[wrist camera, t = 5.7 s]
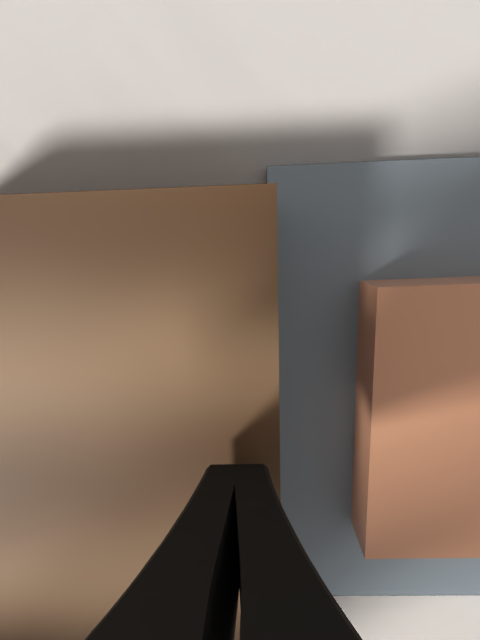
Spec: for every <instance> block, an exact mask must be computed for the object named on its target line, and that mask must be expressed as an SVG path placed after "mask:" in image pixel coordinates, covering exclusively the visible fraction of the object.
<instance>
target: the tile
mask: <svg viewBox="0 0 480 640" xmlns="http://www.w3.org/2000/svg"><path fill="white" fill-rule="evenodd" d="M351 522H352V525H353V528H354V530H355V533H356V536H357V539H358V541H359V544H360V547H361V550H362V553H363V555H364V558H365V559H423V558H480V276H464V277H438V278H412V279H386V280H360V283H359V311H358V340H357V368H356V396H355V425H354V453H353V481H352V510H351Z"/></svg>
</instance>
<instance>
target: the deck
mask: <svg viewBox="0 0 480 640" xmlns="http://www.w3.org/2000/svg"><path fill="white" fill-rule="evenodd" d="M213 464H264V465H265V466H266V467H267V468H268V469H269V474H270V477H271V480H272V483H273V486H274V488H275V491H276V494H277V496H278V498H279V500H280V503H281V498H280V407H279V316H278V225H277V183H266V184H242V185H218V186H194V187H170V188H146V189H122V190H99V191H75V192H51V193H27V194H3V195H0V640H85V638H86V637H87V636H88V635H89V634H90V633H91V631H92V630H93V629H94V628H95V627H96V626H97V624H98V623H99V622H100V621H101V620H102V619H103V617H104V616H105V615H106V614H107V613H108V612H109V610H110V609H111V608H112V607H113V605H114V604H115V603H116V602H117V601H118V599H119V598H120V597H121V596H122V594H123V593H124V592H125V591H126V589H127V588H128V587H129V586H130V584H131V583H132V582H133V580H134V579H135V578H136V577H137V575H138V574H139V572H140V571H141V570H142V568H143V567H144V566H145V564H146V563H147V562H148V560H149V559H150V558H151V556H152V555H153V553H154V552H155V551H156V549H157V548H158V547H159V545H160V544H161V543H162V541H163V540H164V538H165V537H166V535H167V534H168V532H169V531H170V529H171V528H172V526H173V525H174V523H175V522H176V520H177V519H178V517H179V515H180V514H181V512H182V511H183V509H184V508H185V506H186V504H187V503H188V501H189V500H190V498H191V496H192V495H193V493H194V491H195V489H196V488H197V486H198V484H199V482H200V480H201V478H202V477H203V475H204V473H205V471H206V469H207V468H208V467H209V466H210V465H213ZM240 614H241V607H240V590H239V598H238V608H237V618H236V628H235V637H234V640H240Z"/></svg>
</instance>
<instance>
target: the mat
mask: <svg viewBox="0 0 480 640" xmlns="http://www.w3.org/2000/svg"><path fill="white" fill-rule="evenodd" d="M267 183H277V225H278V316H279V407H280V498H281V505H282V507H283V509H284V511H285V513H286V516H287V518H288V520H289V521H290V523H291V525H292V527H293V529H294V531H295V533H296V535H297V537H298V539H299V540H300V542H301V544H302V546H303V548H304V550H305V551H306V553H307V555H308V557H309V558H310V560H311V562H312V563H313V565H314V567H315V568H316V570H317V572H318V573H319V575H320V577H321V578H322V580H323V582H324V583H325V585H326V586H327V588H328V589H329V591H330V593H331V594H332V596H423V595H480V558H423V559H365V558H364V555H363V553H362V550H361V547H360V544H359V541H358V539H357V536H356V533H355V530H354V528H353V525H352V522H351V510H352V481H353V453H354V425H355V396H356V368H357V340H358V311H359V283H360V280H386V279H412V278H438V277H464V276H480V157H463V158H440V159H417V160H394V161H371V162H349V163H326V164H303V165H280V166H267Z"/></svg>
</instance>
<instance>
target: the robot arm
mask: <svg viewBox="0 0 480 640" xmlns="http://www.w3.org/2000/svg"><path fill="white" fill-rule="evenodd" d="M239 590H240V607H241V614H240V640H362V638H361V637H360V636H359V634H358V633H357V631H356V630H355V628H354V627H353V625H352V624H351V623H350V621H349V620H348V618H347V617H346V615H345V614H344V612H343V611H342V609H341V608H340V606H339V605H338V603H337V602H336V600H335V599H334V597H333V596H332V594H331V593H330V591H329V589H328V588H327V586H326V585H325V583H324V582H323V580H322V578H321V577H320V575H319V573H318V572H317V570H316V568H315V567H314V565H313V563H312V562H311V560H310V558H309V557H308V555H307V553H306V551H305V550H304V548H303V546H302V544H301V542H300V540H299V539H298V537H297V535H296V533H295V531H294V529H293V527H292V525H291V523H290V521H289V520H288V518H287V516H286V513H285V511H284V509H283V507H282V505H281V503H280V500H279V498H278V496H277V494H276V491H275V488H274V486H273V483H272V480H271V477H270V474H269V469H268V468H267V467H266V466H265V465H264V464H213V465H210V466H209V467H208V468H207V469H206V471H205V473H204V475H203V477H202V478H201V480H200V482H199V484H198V486H197V488H196V489H195V491H194V493H193V495H192V496H191V498H190V500H189V501H188V503H187V504H186V506H185V508H184V509H183V511H182V512H181V514H180V515H179V517H178V519H177V520H176V522H175V523H174V525H173V526H172V528H171V529H170V531H169V532H168V534H167V535H166V537H165V538H164V540H163V541H162V543H161V544H160V545H159V547H158V548H157V549H156V551H155V552H154V553H153V555H152V556H151V558H150V559H149V560H148V562H147V563H146V564H145V566H144V567H143V568H142V570H141V571H140V572H139V574H138V575H137V577H136V578H135V579H134V580H133V582H132V583H131V584H130V586H129V587H128V588H127V589H126V591H125V592H124V593H123V594H122V596H121V597H120V598H119V599H118V601H117V602H116V603H115V604H114V605H113V607H112V608H111V609H110V610H109V612H108V613H107V614H106V615H105V616H104V617H103V619H102V620H101V621H100V622H99V623H98V624H97V626H96V627H95V628H94V629H93V630H92V631H91V633H90V634H89V635H88V636H87V637H86V638H85V640H234V637H235V628H236V618H237V608H238V598H239Z"/></svg>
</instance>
